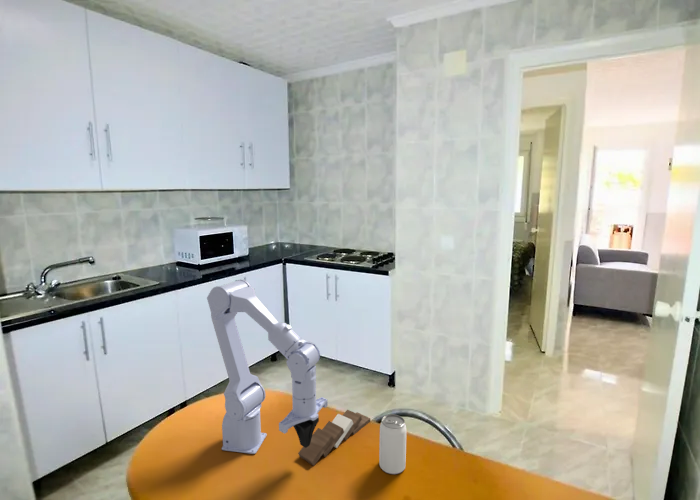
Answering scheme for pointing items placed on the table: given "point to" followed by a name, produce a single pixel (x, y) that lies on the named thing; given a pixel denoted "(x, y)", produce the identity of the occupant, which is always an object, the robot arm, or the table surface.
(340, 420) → the domino
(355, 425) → the domino
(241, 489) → the table surface
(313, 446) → the domino
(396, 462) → the can
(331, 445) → the domino
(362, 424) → the domino
